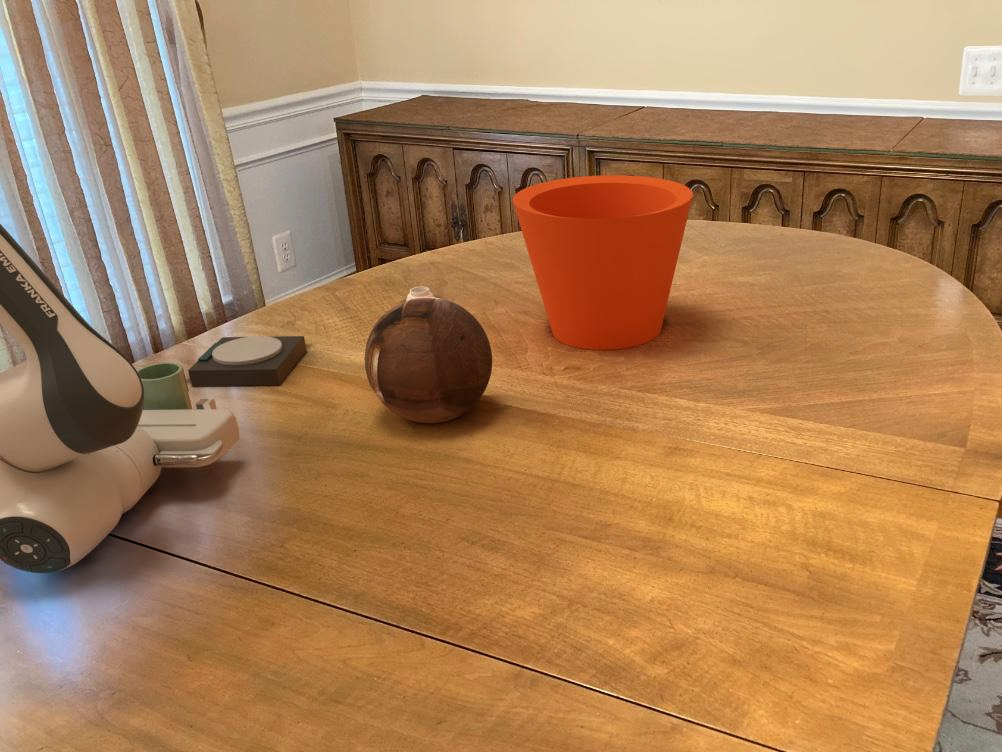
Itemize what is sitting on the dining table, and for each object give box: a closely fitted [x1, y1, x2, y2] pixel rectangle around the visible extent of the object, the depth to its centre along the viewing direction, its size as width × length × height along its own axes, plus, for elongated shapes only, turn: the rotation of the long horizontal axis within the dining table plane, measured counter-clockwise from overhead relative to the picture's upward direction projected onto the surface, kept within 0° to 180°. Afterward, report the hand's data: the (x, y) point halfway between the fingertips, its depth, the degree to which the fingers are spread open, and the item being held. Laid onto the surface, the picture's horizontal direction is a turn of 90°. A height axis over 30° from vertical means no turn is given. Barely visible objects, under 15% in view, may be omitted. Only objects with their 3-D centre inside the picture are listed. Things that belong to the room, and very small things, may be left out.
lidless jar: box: [405, 286, 435, 301], centre depth 155 cm, size 5×3×5 cm
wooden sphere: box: [364, 296, 493, 424], centre depth 117 cm, size 15×15×15 cm
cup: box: [136, 361, 194, 410], centre depth 112 cm, size 5×5×10 cm
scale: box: [187, 335, 308, 387], centre depth 135 cm, size 12×12×3 cm
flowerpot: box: [512, 174, 694, 351], centre depth 140 cm, size 25×25×20 cm
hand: (169, 404), depth 113 cm, fingers open, 8 cm apart
